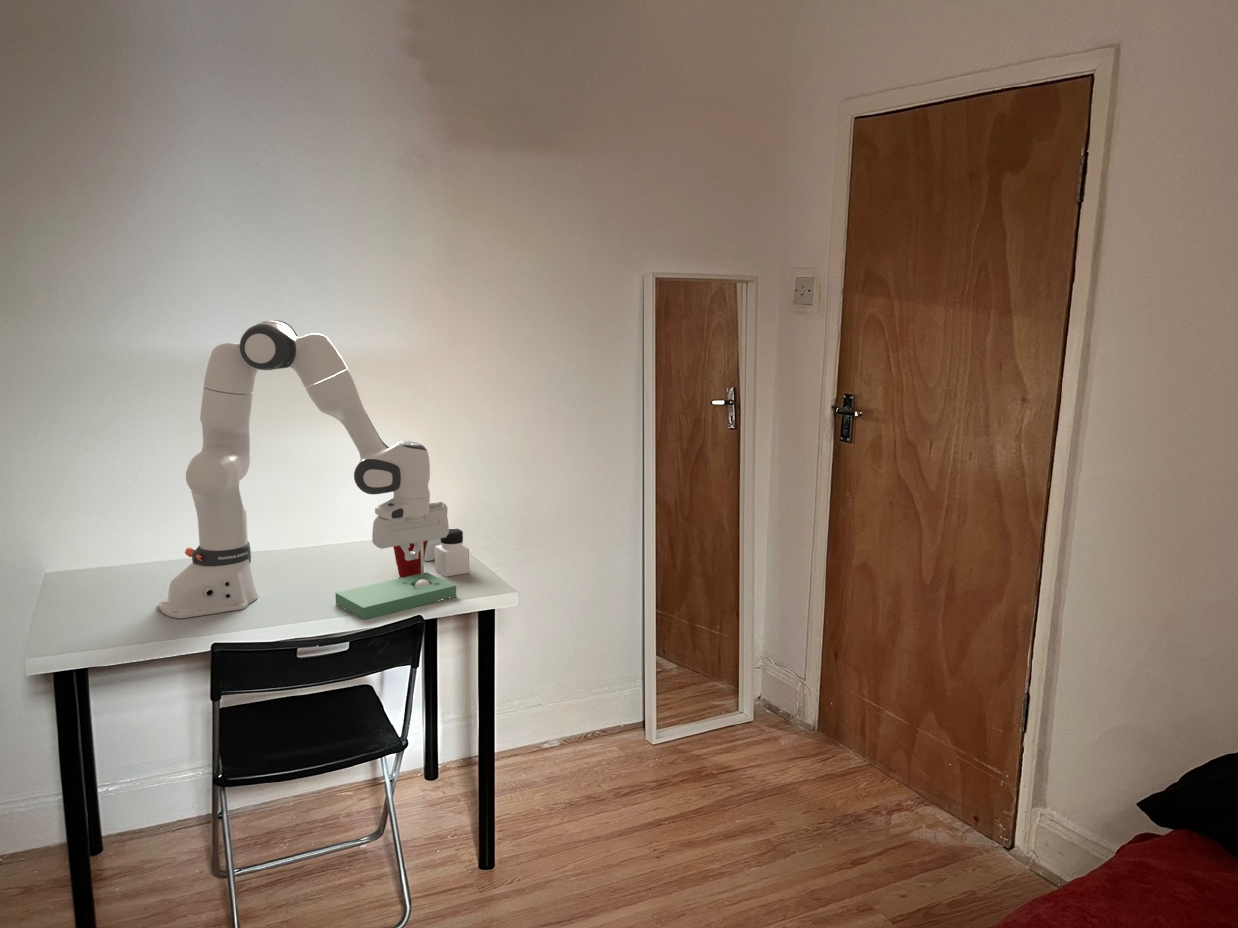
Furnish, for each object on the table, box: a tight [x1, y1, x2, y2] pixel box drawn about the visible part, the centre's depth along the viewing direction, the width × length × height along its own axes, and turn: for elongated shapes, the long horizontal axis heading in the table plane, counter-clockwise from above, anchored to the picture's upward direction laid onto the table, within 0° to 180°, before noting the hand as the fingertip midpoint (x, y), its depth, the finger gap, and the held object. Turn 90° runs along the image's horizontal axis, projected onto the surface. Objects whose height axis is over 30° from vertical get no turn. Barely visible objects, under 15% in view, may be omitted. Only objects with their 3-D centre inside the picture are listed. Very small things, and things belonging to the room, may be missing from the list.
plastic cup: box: [392, 541, 428, 578], centre depth 261 cm, size 11×11×12 cm
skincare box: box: [424, 538, 441, 562], centre depth 280 cm, size 10×6×10 cm, turn 49°
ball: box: [415, 579, 430, 587], centre depth 248 cm, size 4×4×4 cm
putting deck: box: [335, 546, 457, 621], centre depth 242 cm, size 26×16×15 cm, turn 133°
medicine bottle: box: [434, 527, 470, 578], centre depth 266 cm, size 7×7×12 cm
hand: (411, 559), depth 245 cm, fingers closed
